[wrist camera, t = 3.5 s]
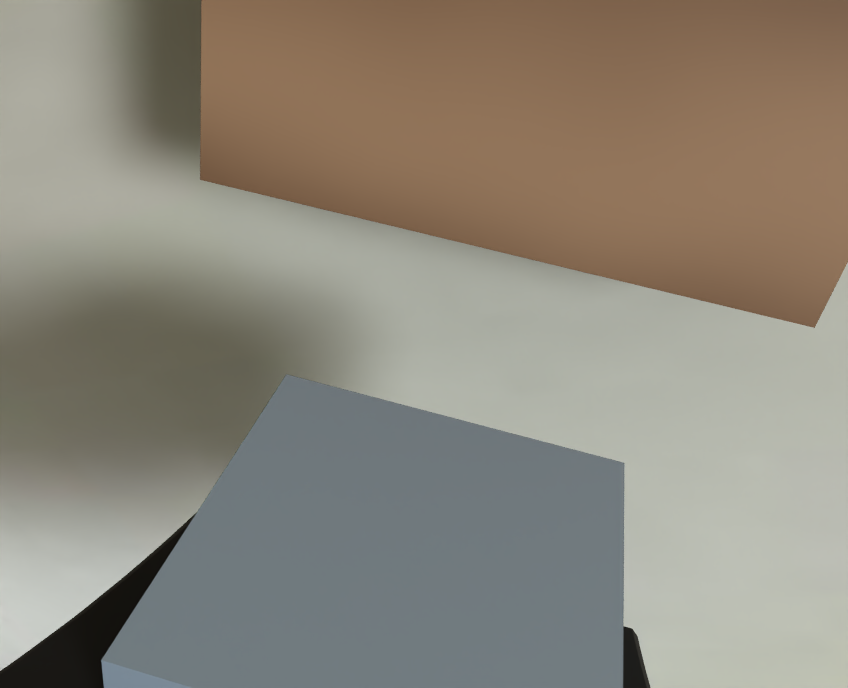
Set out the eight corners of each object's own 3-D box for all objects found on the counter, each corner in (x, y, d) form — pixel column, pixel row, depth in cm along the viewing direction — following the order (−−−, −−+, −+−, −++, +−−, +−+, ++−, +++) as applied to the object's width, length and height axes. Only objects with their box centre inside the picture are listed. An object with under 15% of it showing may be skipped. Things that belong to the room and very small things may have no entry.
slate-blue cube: (540, 676, 14) (503, 1024, 10) (268, 597, 15) (124, 898, 10) (624, 462, 11) (622, 819, 7) (286, 374, 12) (101, 660, 8)
